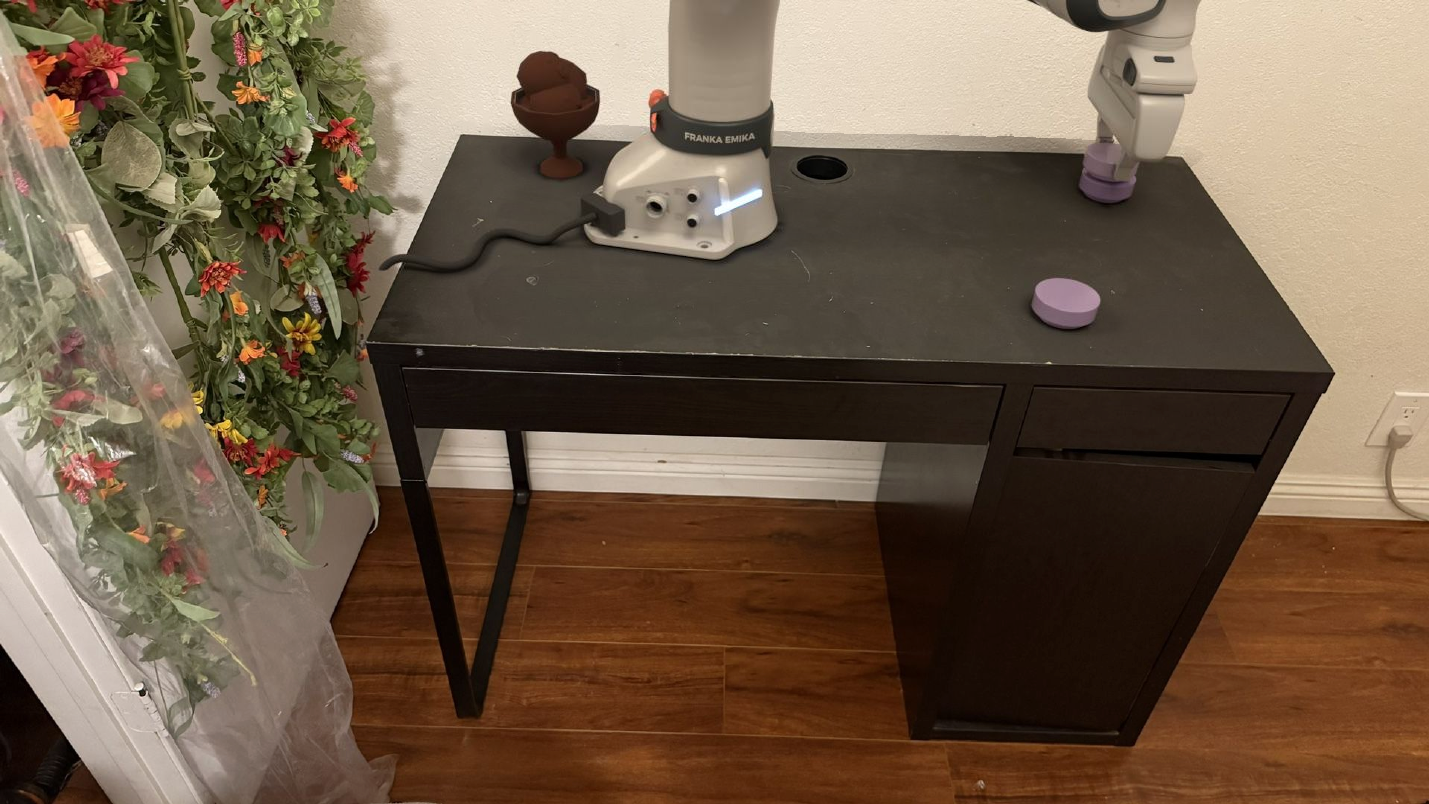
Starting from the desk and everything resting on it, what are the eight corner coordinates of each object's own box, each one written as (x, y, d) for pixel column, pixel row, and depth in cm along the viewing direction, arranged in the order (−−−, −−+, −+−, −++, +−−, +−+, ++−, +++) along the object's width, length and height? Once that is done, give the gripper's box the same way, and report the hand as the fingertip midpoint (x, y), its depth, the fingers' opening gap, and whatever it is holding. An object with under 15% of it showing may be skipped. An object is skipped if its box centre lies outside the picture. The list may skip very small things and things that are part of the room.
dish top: (1088, 183, 119) (1094, 163, 118) (1074, 160, 124) (1080, 141, 123) (1141, 185, 119) (1148, 165, 118) (1126, 162, 124) (1132, 143, 123)
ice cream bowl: (591, 192, 121) (584, 70, 112) (504, 182, 123) (490, 61, 113) (615, 155, 129) (610, 39, 120) (533, 146, 131) (522, 31, 121)
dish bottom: (1084, 205, 121) (1090, 186, 120) (1071, 181, 126) (1076, 162, 125) (1137, 207, 121) (1143, 187, 120) (1121, 183, 126) (1127, 164, 125)
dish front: (1037, 332, 99) (1043, 310, 98) (1023, 297, 104) (1029, 276, 103) (1101, 334, 99) (1108, 313, 98) (1084, 300, 104) (1091, 278, 103)
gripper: (1092, 20, 121) (1063, 128, 129) (1143, 83, 105) (1107, 201, 113) (1144, 22, 121) (1112, 130, 129) (1203, 85, 105) (1163, 204, 113)
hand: (1110, 164), depth 121 cm, fingers closed on dish top, 6 cm apart
